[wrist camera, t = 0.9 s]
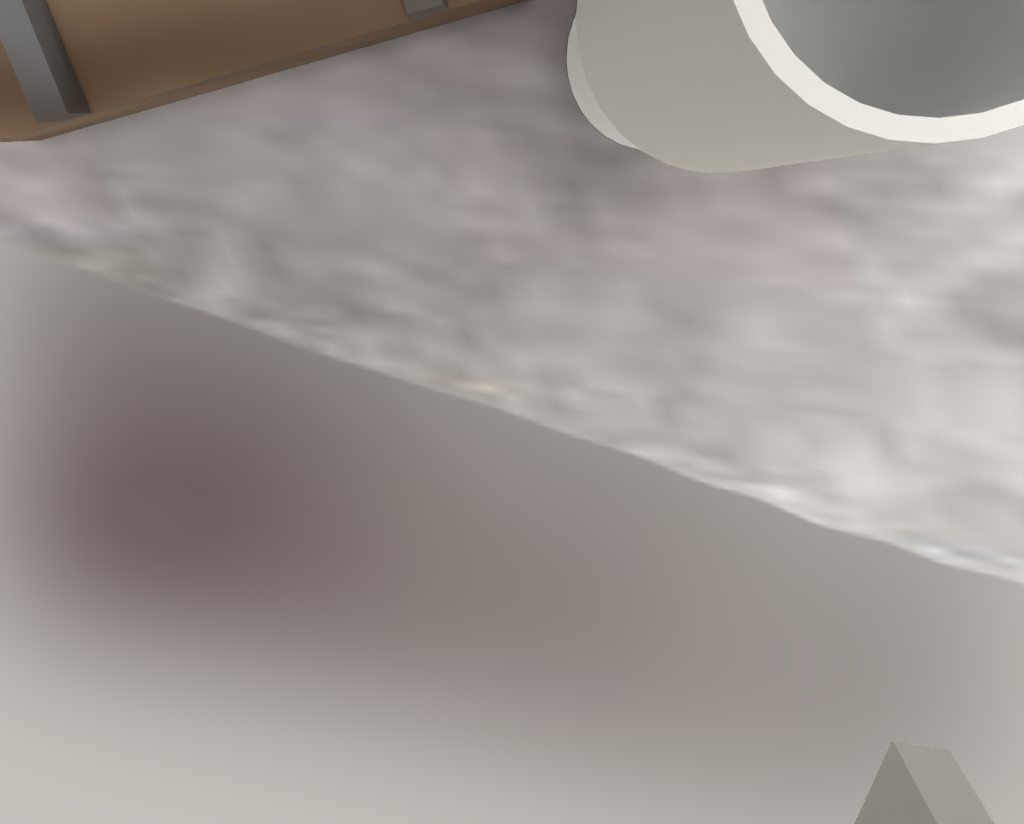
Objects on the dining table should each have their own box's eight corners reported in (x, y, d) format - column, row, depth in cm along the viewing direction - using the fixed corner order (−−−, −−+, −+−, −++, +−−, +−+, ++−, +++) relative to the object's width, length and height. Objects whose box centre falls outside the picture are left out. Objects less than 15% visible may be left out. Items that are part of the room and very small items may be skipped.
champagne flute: (771, -28, 29) (1549, -536, 6) (721, 165, 31) (1163, 294, 9) (586, -64, 29) (712, -711, 6) (550, 133, 31) (547, 179, 9)
